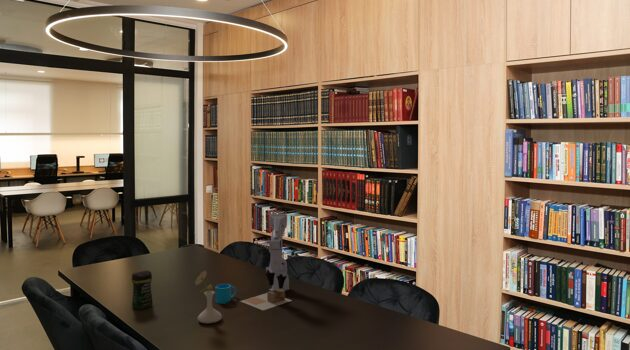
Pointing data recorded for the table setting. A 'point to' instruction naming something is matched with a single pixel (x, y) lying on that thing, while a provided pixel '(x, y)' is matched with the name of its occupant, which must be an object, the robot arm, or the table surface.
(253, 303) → the card mat
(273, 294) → the box
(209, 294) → the flower in vase
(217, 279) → the table surface
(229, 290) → the mug
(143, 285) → the coffee jar
